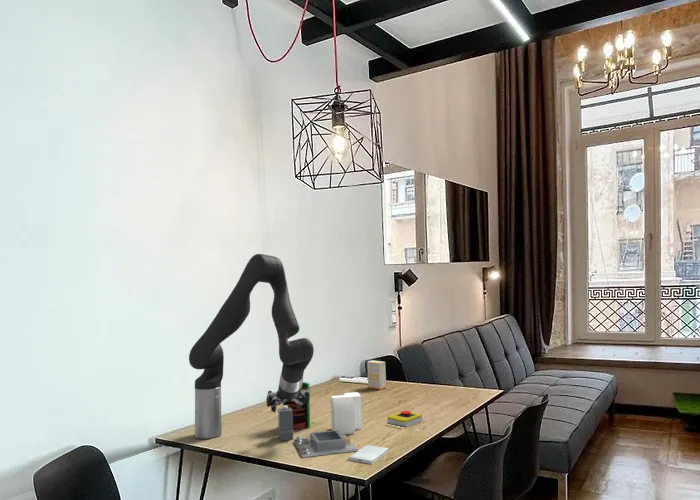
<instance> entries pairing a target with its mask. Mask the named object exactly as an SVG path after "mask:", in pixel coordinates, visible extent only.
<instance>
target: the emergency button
mask: <svg viewBox="0 0 700 500" xmlns="http://www.w3.org/2000/svg"><path fill="white" fill-rule="evenodd" d="M423 420H424V419H423V414H422V413H418V412H414V411H413V412H412V411H410V410H402V411H399V412H396V413H393V414H390V415H388V416H387V421H386V423H387V424H391V425H395V426H400V427H408V428H410V427H409V426H411V425H413V426H415V425H414V424H416V423H418V424H420V423H419V422H421V421H423ZM421 423H422V422H421ZM391 425H390V426H391ZM416 425H417V424H416ZM411 427H412V426H411Z"/></svg>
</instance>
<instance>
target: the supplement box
mask: <svg viewBox="0 0 700 500" xmlns="http://www.w3.org/2000/svg"><path fill="white" fill-rule="evenodd" d="M366 362H367V363H366V364H367V388H369V389H373V388H374V389H375V390H380V391H381V390H384V388H385V389H387V375H386V374H387V372H386V361H381V360H373V359H372V360H368V361H366ZM374 389H373V390H374Z"/></svg>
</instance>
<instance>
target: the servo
mask: <svg viewBox="0 0 700 500" xmlns="http://www.w3.org/2000/svg"><path fill="white" fill-rule="evenodd" d="M277 411H278V412H277V413H278V414H277V416H278V417H277V418H278V419H277V421H278V427H277V431H278V439H279V441H280V442H281V441H282V442H283V441H291V440H293V441H294V430H293V410H292V409H291V408H288V406H287V405H284V406H283V405H282V406H281V408H277Z"/></svg>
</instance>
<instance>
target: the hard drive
mask: <svg viewBox="0 0 700 500" xmlns="http://www.w3.org/2000/svg"><path fill="white" fill-rule="evenodd" d="M389 449H390V448H388V447H385V446H383V447H382V446H378V445H377V446H376V445H369V444H367V445H365V446H363V447H361V448H360V449H359V450H358V451H355V453H354V452H353V454H351V455H349V456H348V458H347V460H348V461H352V462H358V463H364V464H369V465H370V464H371V465H373V464H374V463H375V462H377V461H378V460H380V459H381V458H382V457H384V456H385V455H386V454H388V452H390V450H389Z"/></svg>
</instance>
